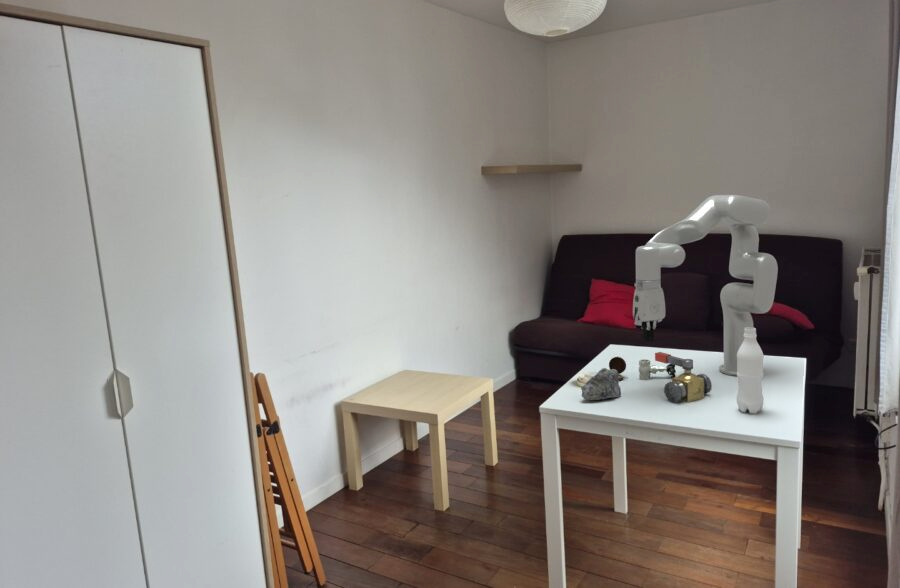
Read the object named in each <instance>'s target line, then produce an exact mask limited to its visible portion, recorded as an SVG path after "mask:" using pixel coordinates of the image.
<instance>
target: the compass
mask: <svg viewBox="0 0 900 588" xmlns="http://www.w3.org/2000/svg"><path fill="white" fill-rule="evenodd" d="M608 368H609V370H611V369H615V370H617V372H618V375H619V376H618V378H619V381H618V382H620V381H623V380H627V379H629V377H628V376H624V375H622V374H623V373H624V372H625V371H626V369H627V363H626V361H625V359H624V358H623V357H621V356H614V357H612V358H610V360H609V363H608Z"/></svg>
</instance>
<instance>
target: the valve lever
mask: <svg viewBox="0 0 900 588" xmlns="http://www.w3.org/2000/svg"><path fill="white" fill-rule="evenodd" d="M654 360H655V362H659V363H663V364H667V365H668V364H673V365H675V367H676V366H677V367H680V368H682V369H683V370H684V369H686V370H691V371H692V370H693V369H694V360H693V359H692V358H680V357H677V356H674V355H672V354H669V353H666V352H662V351H658V352H655V353H654Z"/></svg>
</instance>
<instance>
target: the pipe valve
mask: <svg viewBox="0 0 900 588" xmlns="http://www.w3.org/2000/svg"><path fill="white" fill-rule="evenodd" d="M683 370H684V371H683V372H682V373H680V374H679V375H678V376H675V378H671V381H669V382H667V383H665V385H664V388H663V391H664V392H663V393H664V396H665V397H666V399H667V400H668V401H669V402H671V403H673V404H674V403H677V402H680V401H682V402H685V403H690V402H694V401H698V400H701V399H704V398H705V394H708V393H711V390H712V387H713V386H712V385H713V384H712V380H711V379H710V377H709V376H708V375H707V374H704V373H699V374H695V373H693V372H692V369H691V370H686V369H683Z"/></svg>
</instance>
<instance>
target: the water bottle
mask: <svg viewBox="0 0 900 588" xmlns="http://www.w3.org/2000/svg"><path fill="white" fill-rule="evenodd" d="M744 332H745V333H744V341H743V343H742V345H741V346H740V348H739V350H738V352H737V380H738V390H737V393H736V404H737V406H738V409H739V410H740V412H742V413H746V412H747V411H748V412H749V413H750V414H752V415H753V414H757V413H758V412H759V413H760V412H761V411H762V410H763V406H764V395H763V387H762V386H763V380H764V379H763V378H764V375H765V373H764V357H765V356H764V353H763V350H762V348H761V346H760V344H759V343H758V341H757V336H758V335H757V328H755V327H754V326H753V327H747V328H745V331H744Z"/></svg>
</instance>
